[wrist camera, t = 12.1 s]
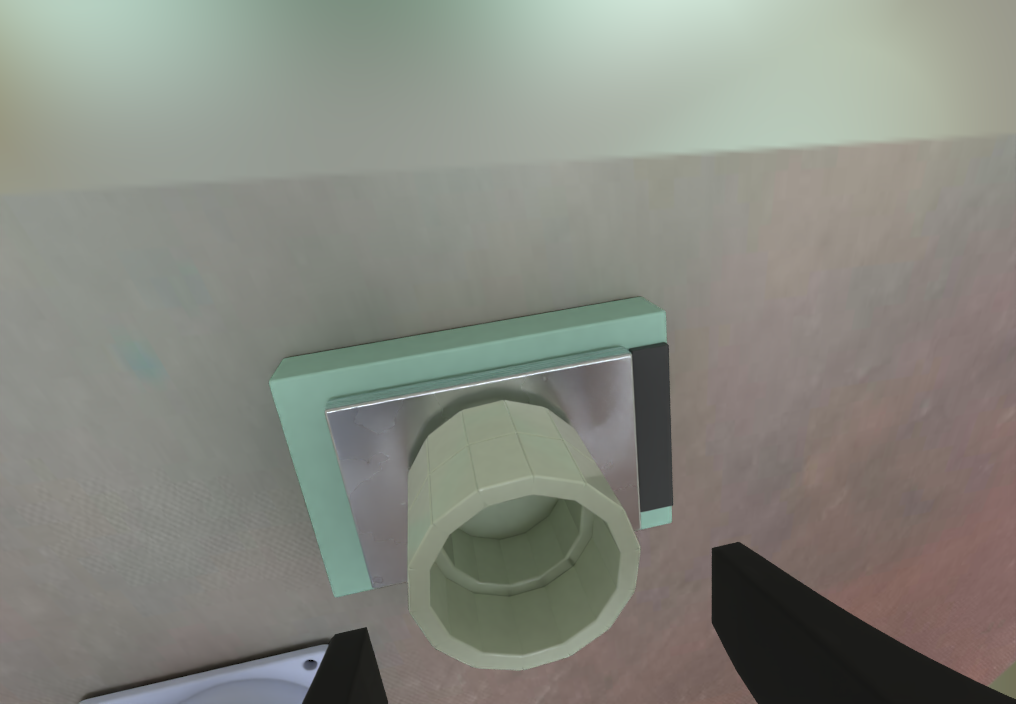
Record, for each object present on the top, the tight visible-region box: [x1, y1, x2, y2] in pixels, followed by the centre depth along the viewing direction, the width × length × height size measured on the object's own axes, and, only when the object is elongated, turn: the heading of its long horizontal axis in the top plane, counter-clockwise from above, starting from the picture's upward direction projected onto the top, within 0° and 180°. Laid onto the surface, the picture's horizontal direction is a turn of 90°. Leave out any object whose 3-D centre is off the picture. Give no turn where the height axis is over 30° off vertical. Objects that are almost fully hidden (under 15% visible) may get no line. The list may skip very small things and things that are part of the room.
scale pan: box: [324, 346, 641, 589], centre depth 17 cm, size 9×6×1 cm
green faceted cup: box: [407, 400, 641, 671], centre depth 15 cm, size 5×6×4 cm
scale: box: [269, 297, 673, 597], centre depth 18 cm, size 12×8×2 cm, turn 97°
